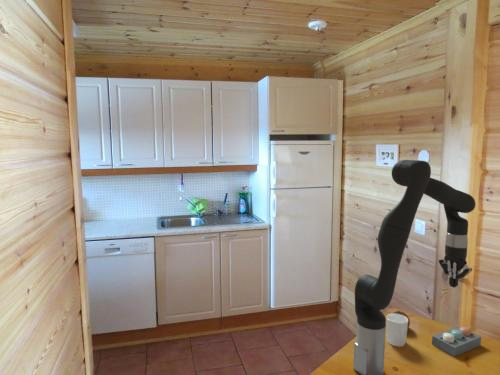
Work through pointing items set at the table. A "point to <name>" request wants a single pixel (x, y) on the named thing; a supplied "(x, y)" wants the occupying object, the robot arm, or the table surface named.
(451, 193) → the robot arm
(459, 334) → the teal button
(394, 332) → the white cup
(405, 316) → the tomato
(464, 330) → the pink cube
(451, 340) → the ivory button
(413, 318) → the table surface
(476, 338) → the button panel
